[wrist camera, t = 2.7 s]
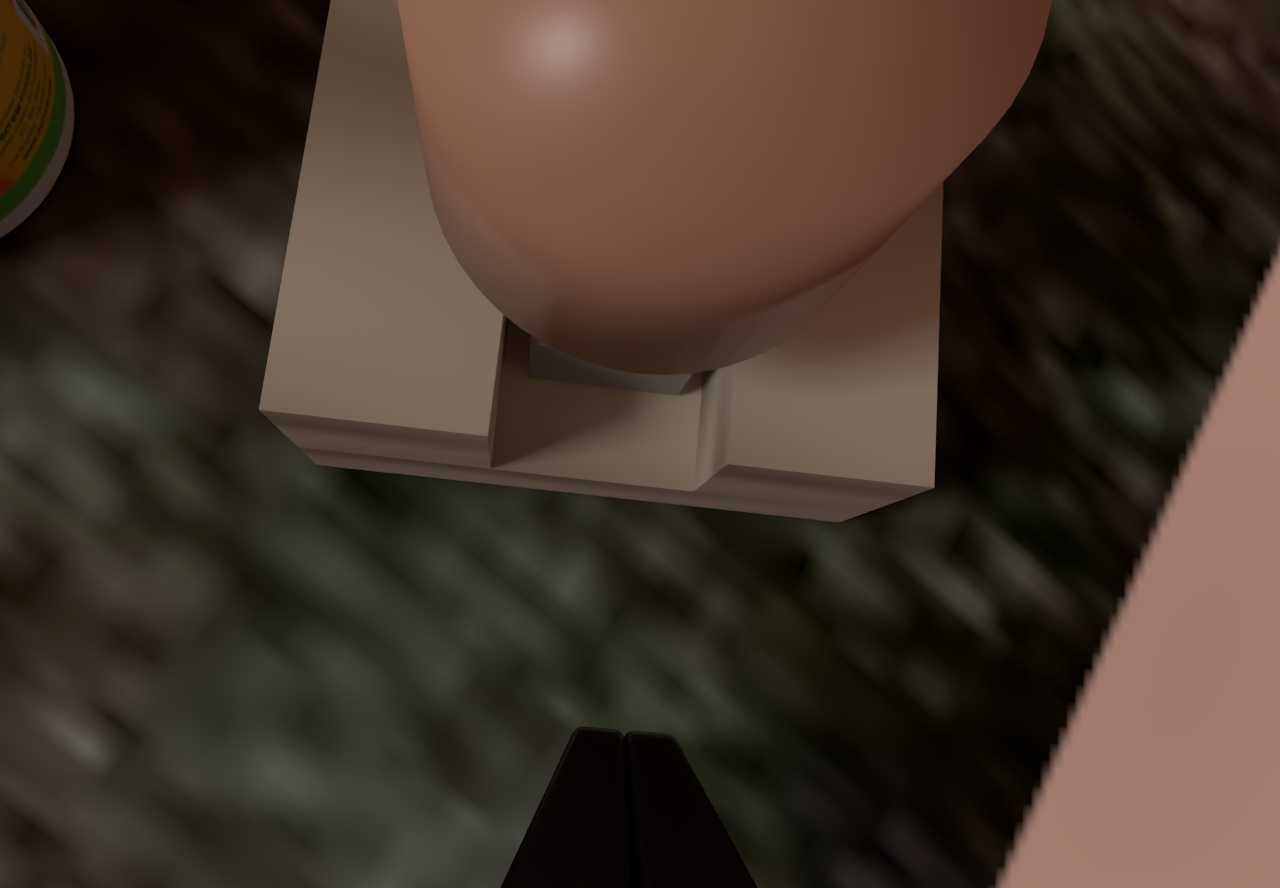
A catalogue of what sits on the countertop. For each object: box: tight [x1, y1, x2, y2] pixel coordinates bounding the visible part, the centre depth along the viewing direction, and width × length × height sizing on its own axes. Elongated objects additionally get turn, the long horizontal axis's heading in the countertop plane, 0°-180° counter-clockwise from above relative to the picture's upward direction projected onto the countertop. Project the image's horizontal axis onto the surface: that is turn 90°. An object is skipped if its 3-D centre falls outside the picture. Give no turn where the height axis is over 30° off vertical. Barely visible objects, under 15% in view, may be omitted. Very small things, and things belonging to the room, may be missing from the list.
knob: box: [397, 0, 1052, 396], centre depth 12 cm, size 5×5×9 cm
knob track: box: [259, 0, 943, 522], centre depth 16 cm, size 9×9×4 cm
